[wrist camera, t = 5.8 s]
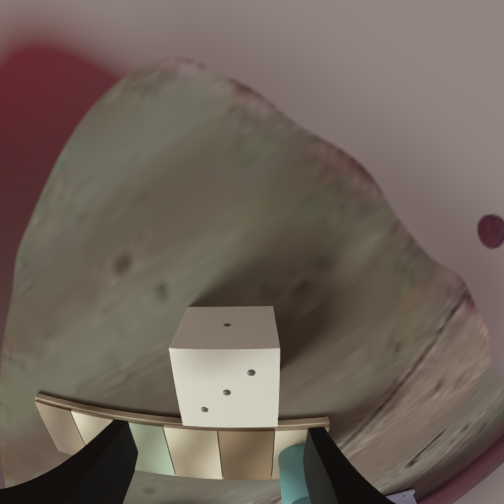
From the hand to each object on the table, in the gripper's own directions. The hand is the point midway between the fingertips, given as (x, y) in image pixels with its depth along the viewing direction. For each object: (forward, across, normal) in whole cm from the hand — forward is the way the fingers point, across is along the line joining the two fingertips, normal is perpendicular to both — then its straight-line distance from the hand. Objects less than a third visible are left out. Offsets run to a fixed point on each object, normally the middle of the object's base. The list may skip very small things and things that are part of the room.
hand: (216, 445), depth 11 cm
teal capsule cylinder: (+8, -5, +10) cm, 13 cm away
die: (+8, 0, 0) cm, 9 cm away
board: (+8, +5, +10) cm, 14 cm away
